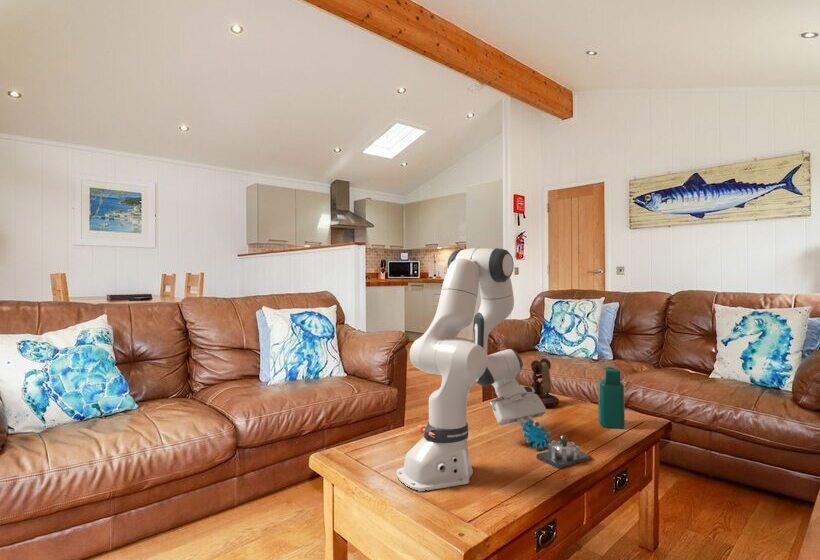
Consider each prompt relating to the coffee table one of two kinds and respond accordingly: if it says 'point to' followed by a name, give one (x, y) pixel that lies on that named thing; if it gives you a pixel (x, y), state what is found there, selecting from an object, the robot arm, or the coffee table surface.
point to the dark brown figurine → (543, 382)
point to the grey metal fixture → (563, 453)
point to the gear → (536, 434)
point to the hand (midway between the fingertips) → (531, 430)
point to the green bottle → (611, 399)
